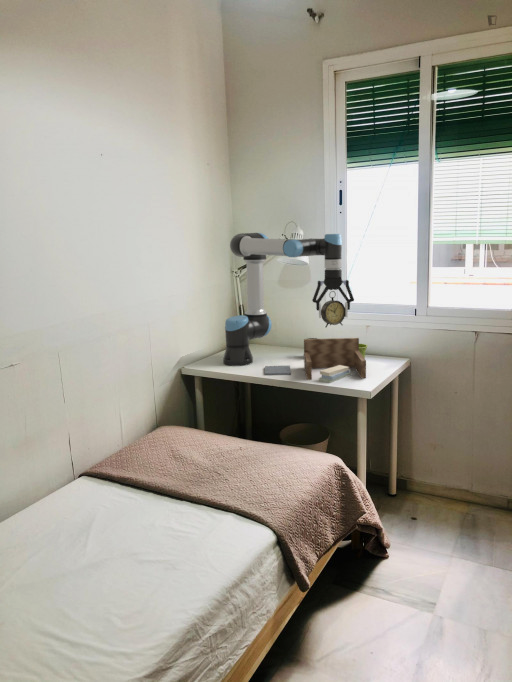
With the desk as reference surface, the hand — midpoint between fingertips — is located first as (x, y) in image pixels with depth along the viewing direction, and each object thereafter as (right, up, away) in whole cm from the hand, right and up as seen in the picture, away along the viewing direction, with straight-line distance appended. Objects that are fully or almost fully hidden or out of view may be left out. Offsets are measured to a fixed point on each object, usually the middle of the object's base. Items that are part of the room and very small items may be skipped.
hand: (333, 317), depth 241 cm
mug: (-4, -20, +35) cm, 40 cm away
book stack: (0, -28, -4) cm, 28 cm away
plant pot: (+16, -22, +22) cm, 35 cm away
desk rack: (+1, -25, +5) cm, 26 cm away
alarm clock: (0, -4, +1) cm, 4 cm away
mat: (-25, -25, +11) cm, 37 cm away
